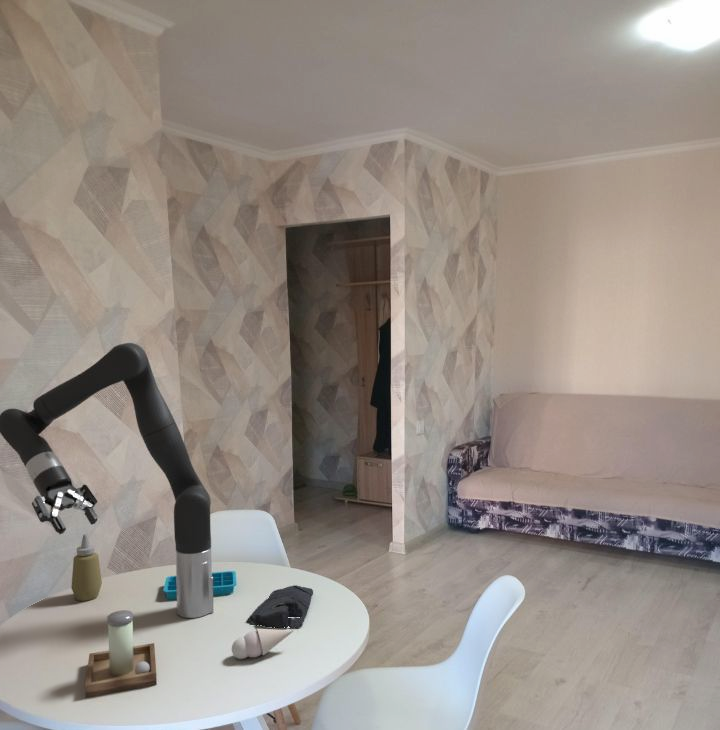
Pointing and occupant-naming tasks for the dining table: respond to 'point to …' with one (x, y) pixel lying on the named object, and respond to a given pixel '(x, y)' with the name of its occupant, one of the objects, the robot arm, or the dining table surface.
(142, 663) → the ball
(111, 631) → the shaker
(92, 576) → the squeeze bottle
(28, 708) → the dining table surface
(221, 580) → the ice cube tray
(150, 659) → the tray
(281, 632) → the ice cream cone
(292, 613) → the dark slate chunk
